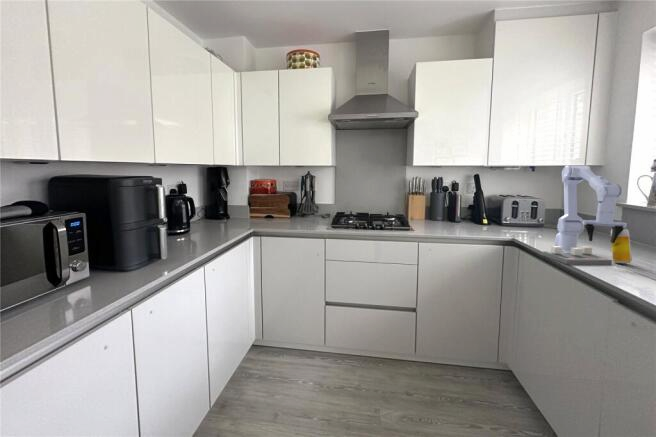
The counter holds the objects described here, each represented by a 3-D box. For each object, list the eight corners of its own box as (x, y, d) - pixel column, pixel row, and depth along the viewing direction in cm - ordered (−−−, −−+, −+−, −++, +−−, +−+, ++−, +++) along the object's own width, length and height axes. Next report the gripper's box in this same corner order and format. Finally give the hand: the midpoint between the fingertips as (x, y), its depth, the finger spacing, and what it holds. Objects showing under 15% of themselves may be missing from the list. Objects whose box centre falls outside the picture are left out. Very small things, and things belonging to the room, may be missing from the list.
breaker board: (542, 255, 151) (543, 251, 150) (583, 255, 151) (583, 251, 151) (566, 264, 136) (567, 259, 136) (611, 264, 136) (612, 260, 136)
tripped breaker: (570, 253, 144) (570, 247, 144) (577, 253, 144) (578, 247, 144) (574, 255, 142) (575, 248, 141) (582, 255, 142) (582, 248, 141)
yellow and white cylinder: (612, 261, 141) (609, 229, 142) (630, 262, 137) (627, 228, 138) (614, 263, 136) (610, 229, 137) (633, 263, 133) (629, 228, 134)
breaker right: (579, 252, 147) (580, 246, 147) (587, 252, 147) (588, 246, 147) (583, 253, 145) (584, 247, 144) (591, 253, 145) (592, 247, 144)
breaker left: (550, 252, 147) (551, 246, 147) (558, 252, 147) (558, 246, 147) (554, 253, 145) (555, 247, 144) (562, 253, 145) (562, 247, 144)
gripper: (587, 211, 135) (583, 241, 137) (631, 214, 128) (626, 245, 131) (583, 209, 141) (579, 238, 143) (624, 212, 135) (620, 242, 137)
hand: (601, 241), depth 137 cm, fingers open, 7 cm apart
